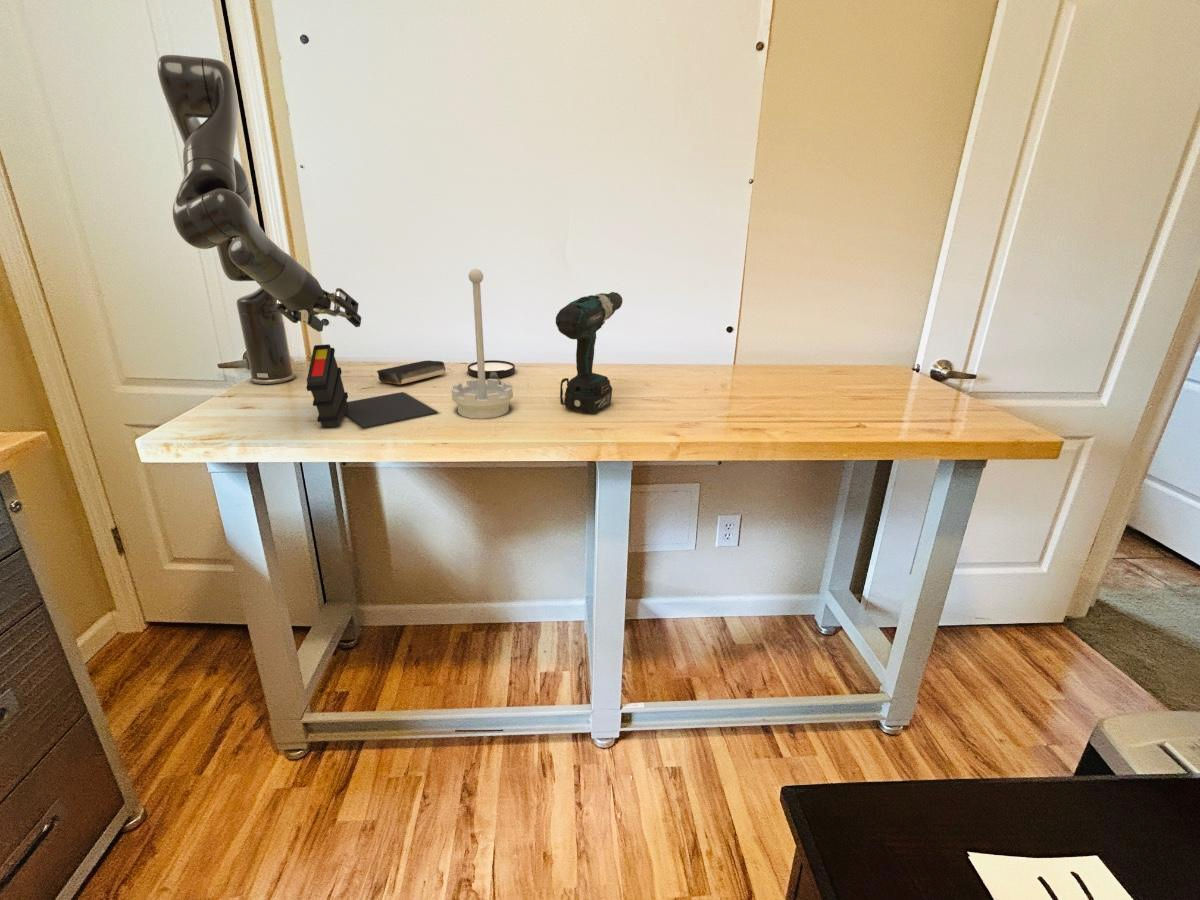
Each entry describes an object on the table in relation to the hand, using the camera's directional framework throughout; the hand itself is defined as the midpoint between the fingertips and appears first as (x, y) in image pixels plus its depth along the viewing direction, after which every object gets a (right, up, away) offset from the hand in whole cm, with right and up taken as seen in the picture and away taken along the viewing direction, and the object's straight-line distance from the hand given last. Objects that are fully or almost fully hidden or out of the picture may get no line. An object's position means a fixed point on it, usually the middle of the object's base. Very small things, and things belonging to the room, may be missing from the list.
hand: (340, 325), depth 123 cm
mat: (+6, -17, +9) cm, 20 cm away
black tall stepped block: (-2, -20, +1) cm, 20 cm away
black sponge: (+5, -8, +31) cm, 32 cm away
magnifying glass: (+26, -7, +34) cm, 43 cm away
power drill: (+51, -15, +15) cm, 56 cm away
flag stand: (+28, -17, +10) cm, 34 cm away
